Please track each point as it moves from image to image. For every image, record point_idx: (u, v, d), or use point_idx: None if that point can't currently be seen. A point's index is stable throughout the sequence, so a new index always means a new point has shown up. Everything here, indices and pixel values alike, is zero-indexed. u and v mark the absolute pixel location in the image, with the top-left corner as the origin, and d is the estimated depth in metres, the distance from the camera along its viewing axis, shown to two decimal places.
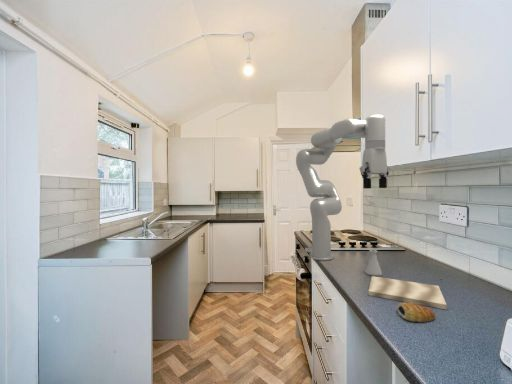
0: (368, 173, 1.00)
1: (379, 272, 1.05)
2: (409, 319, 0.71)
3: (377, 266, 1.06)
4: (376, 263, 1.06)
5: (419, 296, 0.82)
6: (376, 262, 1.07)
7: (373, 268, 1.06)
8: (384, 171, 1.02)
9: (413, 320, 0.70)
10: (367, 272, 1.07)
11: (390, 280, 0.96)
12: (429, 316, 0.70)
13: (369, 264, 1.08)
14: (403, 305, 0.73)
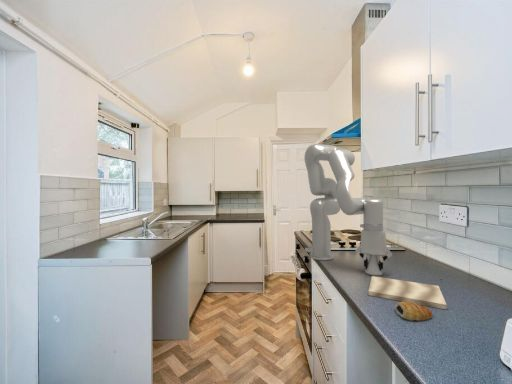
0: (382, 256, 1.07)
1: (379, 272, 1.05)
2: (407, 318, 0.71)
3: (377, 266, 1.06)
4: (376, 263, 1.06)
5: (419, 296, 0.82)
6: (376, 262, 1.07)
7: (373, 268, 1.06)
8: None
9: (411, 319, 0.71)
10: (367, 272, 1.07)
11: (390, 280, 0.96)
12: (427, 315, 0.71)
13: (369, 264, 1.08)
14: (401, 304, 0.74)
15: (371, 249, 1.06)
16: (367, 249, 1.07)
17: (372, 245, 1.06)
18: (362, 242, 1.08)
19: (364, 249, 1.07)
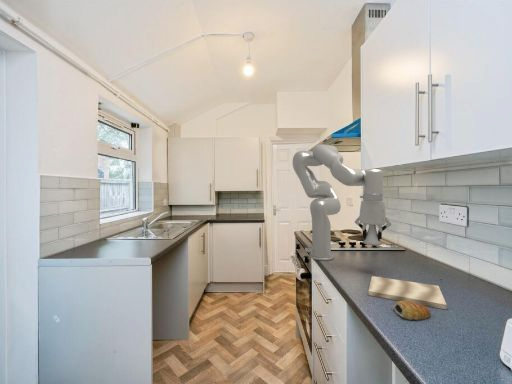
0: (381, 226, 1.07)
1: (378, 242, 1.06)
2: (406, 317, 0.72)
3: (376, 236, 1.06)
4: (375, 233, 1.06)
5: (419, 296, 0.82)
6: (375, 232, 1.07)
7: (372, 238, 1.06)
8: None
9: (410, 318, 0.71)
10: (366, 242, 1.07)
11: (390, 280, 0.96)
12: (425, 314, 0.72)
13: (368, 234, 1.08)
14: (400, 303, 0.74)
15: (370, 219, 1.06)
16: (366, 219, 1.07)
17: (371, 214, 1.06)
18: (361, 212, 1.08)
19: (363, 219, 1.07)
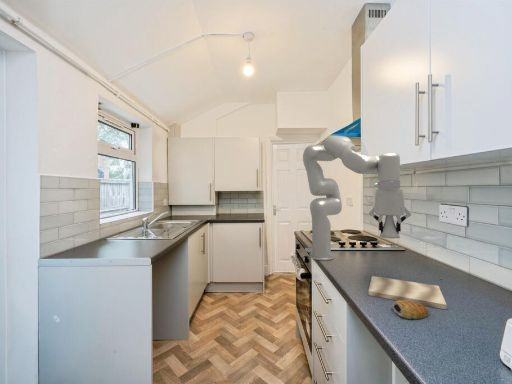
0: None
1: (397, 234, 0.94)
2: (405, 316, 0.72)
3: (394, 228, 0.95)
4: (393, 225, 0.95)
5: (419, 296, 0.82)
6: (393, 224, 0.95)
7: (390, 230, 0.95)
8: None
9: (409, 317, 0.72)
10: (383, 235, 0.96)
11: (390, 280, 0.96)
12: (424, 313, 0.72)
13: (385, 226, 0.96)
14: (399, 303, 0.74)
15: (387, 209, 0.95)
16: (383, 209, 0.95)
17: (388, 204, 0.94)
18: (377, 202, 0.96)
19: (379, 210, 0.96)
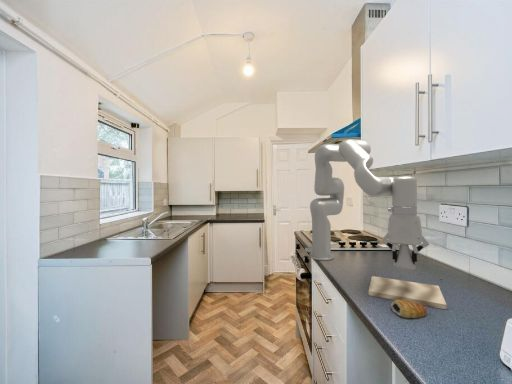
0: None
1: (413, 265, 0.86)
2: (404, 316, 0.72)
3: (410, 258, 0.87)
4: (408, 255, 0.87)
5: (419, 296, 0.82)
6: (408, 253, 0.87)
7: (405, 260, 0.86)
8: None
9: (408, 317, 0.72)
10: (397, 265, 0.88)
11: (390, 280, 0.96)
12: (422, 312, 0.73)
13: (399, 256, 0.88)
14: (398, 302, 0.75)
15: (402, 238, 0.86)
16: (397, 237, 0.87)
17: (404, 232, 0.86)
18: (391, 229, 0.88)
19: (393, 238, 0.88)
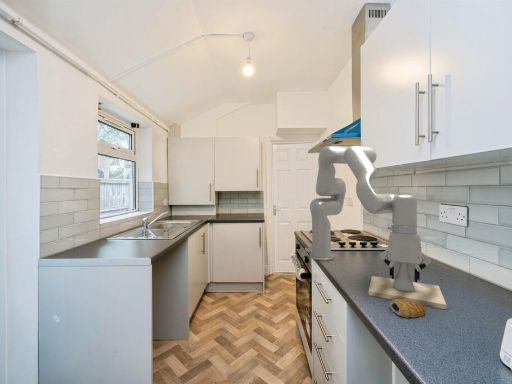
0: (418, 263, 0.88)
1: (412, 287, 0.86)
2: (403, 315, 0.73)
3: (409, 279, 0.87)
4: (408, 276, 0.87)
5: (419, 296, 0.82)
6: (408, 274, 0.87)
7: (405, 282, 0.87)
8: None
9: (407, 316, 0.72)
10: (397, 287, 0.88)
11: (390, 280, 0.96)
12: (421, 311, 0.73)
13: (399, 277, 0.88)
14: (397, 302, 0.75)
15: (402, 256, 0.87)
16: (397, 256, 0.87)
17: (403, 250, 0.86)
18: (391, 247, 0.88)
19: (393, 256, 0.88)
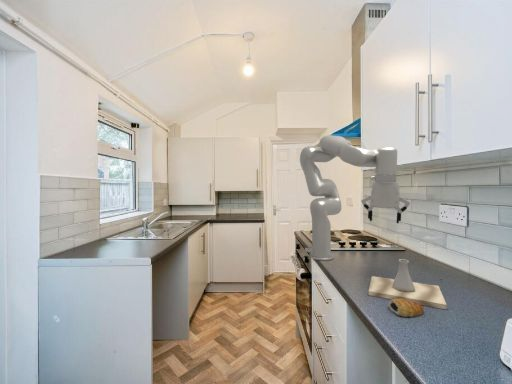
0: None
1: (412, 287, 0.86)
2: (402, 315, 0.73)
3: (409, 279, 0.87)
4: (408, 276, 0.87)
5: (419, 296, 0.82)
6: (408, 274, 0.87)
7: (405, 282, 0.87)
8: None
9: (406, 315, 0.73)
10: (397, 287, 0.88)
11: (390, 280, 0.96)
12: (420, 310, 0.74)
13: (399, 277, 0.88)
14: (395, 301, 0.75)
15: (382, 202, 0.98)
16: (378, 202, 0.99)
17: (384, 197, 0.98)
18: (373, 194, 1.00)
19: (375, 202, 0.99)
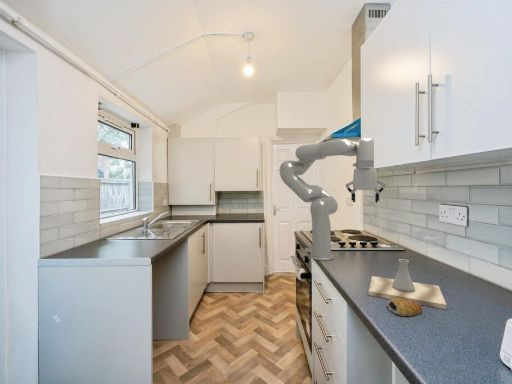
0: (377, 189, 1.15)
1: (412, 287, 0.86)
2: (401, 314, 0.73)
3: (409, 279, 0.87)
4: (408, 276, 0.87)
5: (419, 296, 0.82)
6: (408, 274, 0.87)
7: (405, 282, 0.87)
8: None
9: (405, 315, 0.73)
10: (397, 287, 0.88)
11: (390, 280, 0.96)
12: (418, 310, 0.74)
13: (399, 277, 0.88)
14: (394, 301, 0.76)
15: (363, 184, 1.14)
16: (359, 185, 1.15)
17: (363, 180, 1.14)
18: (354, 179, 1.16)
19: (356, 185, 1.15)
